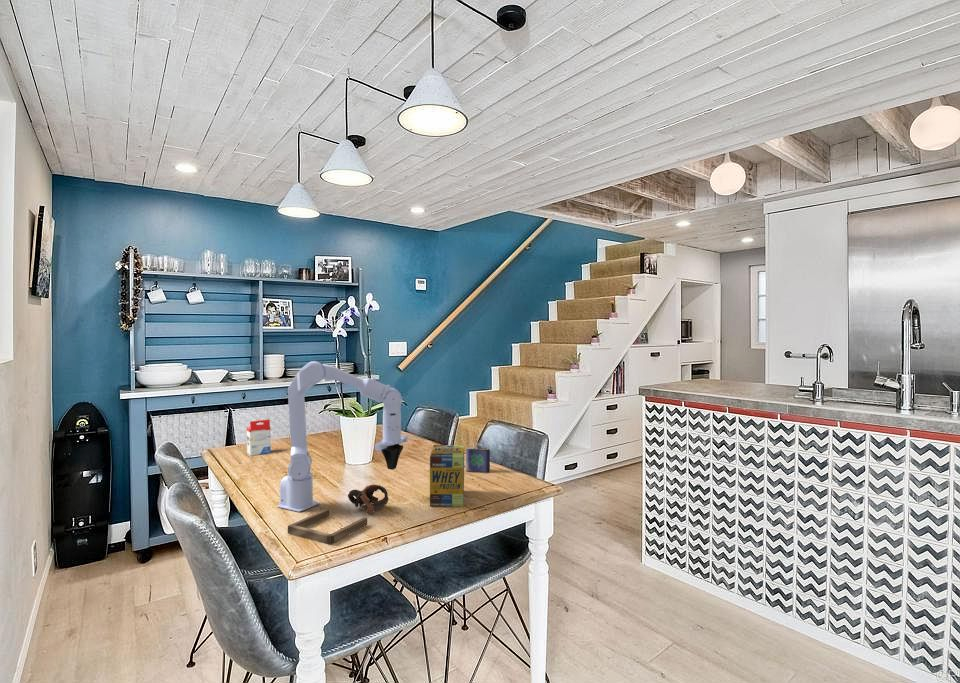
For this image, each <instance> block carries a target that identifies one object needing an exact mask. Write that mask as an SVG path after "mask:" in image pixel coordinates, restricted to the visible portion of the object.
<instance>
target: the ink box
mask: <svg viewBox="0 0 960 683" xmlns="http://www.w3.org/2000/svg"><path fill="white" fill-rule="evenodd" d="M270 422H271V420H270V419H260V420H259V419H258V420H250V421H249V426H247V427H246V453H247V455H249V456H250V457H251V456H257V455H258V456H259V455H264V454H265V455H266V454H271V452H272V451H271V450H272V449H271V445H272V444H271V423H270ZM259 423H260V424H259Z"/></svg>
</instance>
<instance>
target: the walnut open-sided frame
mask: <svg viewBox="0 0 960 683" xmlns="http://www.w3.org/2000/svg"><path fill="white" fill-rule="evenodd" d="M330 513H331V512H330V508H329V509H328V508H325V509H322V510H321V511H318V512H316V513H313V514H312V515H310V516H307V517H305V518H302V519H301V520H298V521H296V522H294V523H291V524H288V525H287V534H289V535H293V536H295V537H300V538H304V539H307V540H311V541H316V542H317V543H322V544H327V545H333V544H335V543H337V542H339V541H340V539H341V540H343V539H344V538H346V537H348V536H350V535H352V534H353V532H354V533H356V532H358V531H359V530H361V529H363V528H365V527H366V525H367V526H368V517H362V518H360V519H358V520H356V521H354V522H352V523H350V524H348V525H346V526H344V527H342V528H340V529H338V530H336V531H334V532H332V533H328V532H325V531H324V532H323V531H319V530H315V529H310V528H308V527H310V526H312V525H314V524H316V523H318V522H321V521H323V520H325V519H327V518H329V517H330ZM364 526H365V527H364ZM362 527H363V528H362ZM360 528H361V529H360ZM358 529H359V530H358ZM355 531H356V532H355ZM351 533H352V534H351ZM349 534H350V535H349ZM342 538H343V539H342Z"/></svg>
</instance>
